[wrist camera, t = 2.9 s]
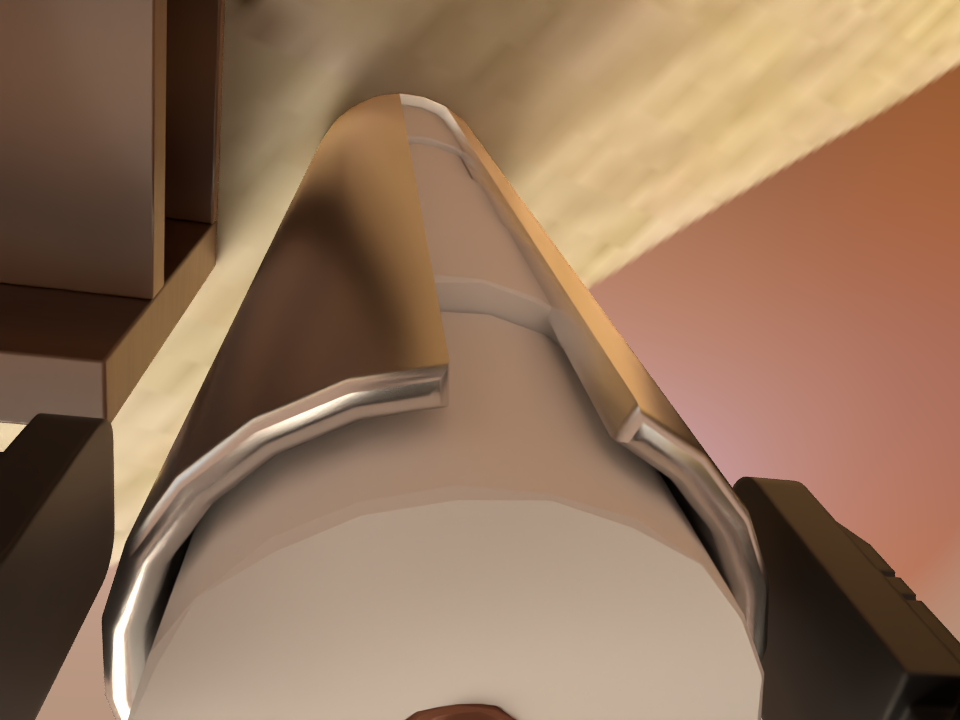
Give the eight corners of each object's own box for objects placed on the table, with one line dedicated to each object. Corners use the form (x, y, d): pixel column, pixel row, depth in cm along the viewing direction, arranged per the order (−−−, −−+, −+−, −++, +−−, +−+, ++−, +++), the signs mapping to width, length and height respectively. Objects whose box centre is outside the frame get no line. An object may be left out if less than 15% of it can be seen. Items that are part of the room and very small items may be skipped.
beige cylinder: (524, 184, 30) (963, 722, 7) (404, 302, 31) (458, 1069, 9) (398, 51, 28) (462, 236, 5) (275, 185, 29) (-118, 812, 6)
